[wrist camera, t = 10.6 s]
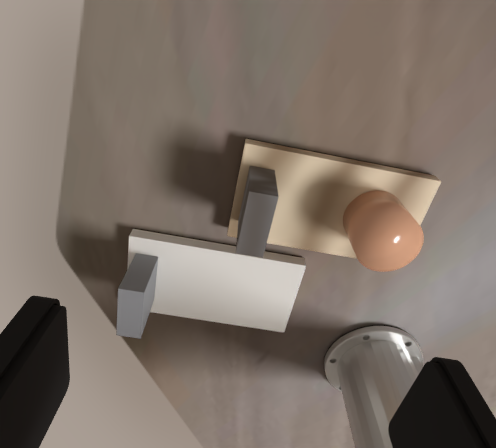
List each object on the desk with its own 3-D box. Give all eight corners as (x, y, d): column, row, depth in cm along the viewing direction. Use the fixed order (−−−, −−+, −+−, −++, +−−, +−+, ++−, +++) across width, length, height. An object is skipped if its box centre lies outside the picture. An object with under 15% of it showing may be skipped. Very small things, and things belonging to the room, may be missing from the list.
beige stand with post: (434, 175, 37) (474, 209, 30) (396, 258, 42) (423, 303, 35) (245, 138, 35) (244, 166, 29) (227, 228, 40) (223, 270, 34)
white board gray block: (304, 258, 42) (314, 302, 35) (283, 323, 47) (288, 373, 40) (133, 228, 40) (109, 269, 34) (129, 299, 45) (108, 348, 38)
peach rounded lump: (412, 196, 36) (435, 220, 32) (390, 247, 39) (407, 276, 35) (353, 185, 36) (368, 208, 32) (335, 237, 39) (345, 265, 34)
